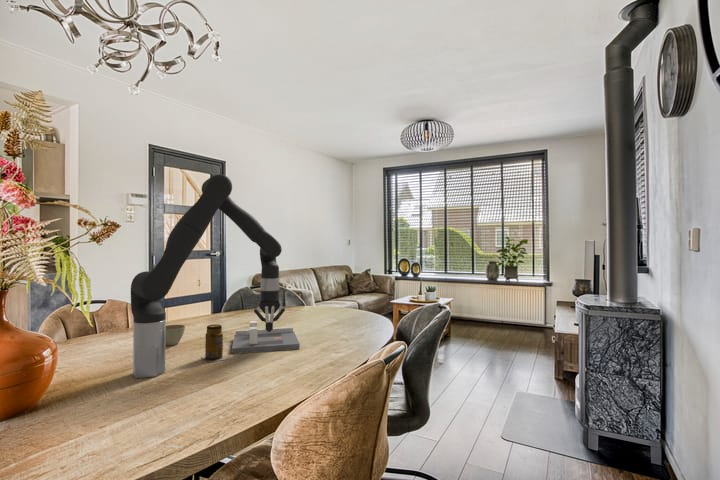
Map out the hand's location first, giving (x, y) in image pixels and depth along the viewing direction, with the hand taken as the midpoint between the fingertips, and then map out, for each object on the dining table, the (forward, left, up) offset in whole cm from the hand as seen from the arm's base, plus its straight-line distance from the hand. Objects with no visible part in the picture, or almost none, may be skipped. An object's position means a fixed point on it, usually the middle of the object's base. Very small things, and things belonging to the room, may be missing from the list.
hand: (269, 331), depth 153 cm
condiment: (-9, +20, -7) cm, 23 cm away
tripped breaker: (0, +6, -4) cm, 8 cm away
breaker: (+12, +6, -4) cm, 14 cm away
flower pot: (+16, +39, -7) cm, 43 cm away
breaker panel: (+6, +1, -7) cm, 9 cm away
